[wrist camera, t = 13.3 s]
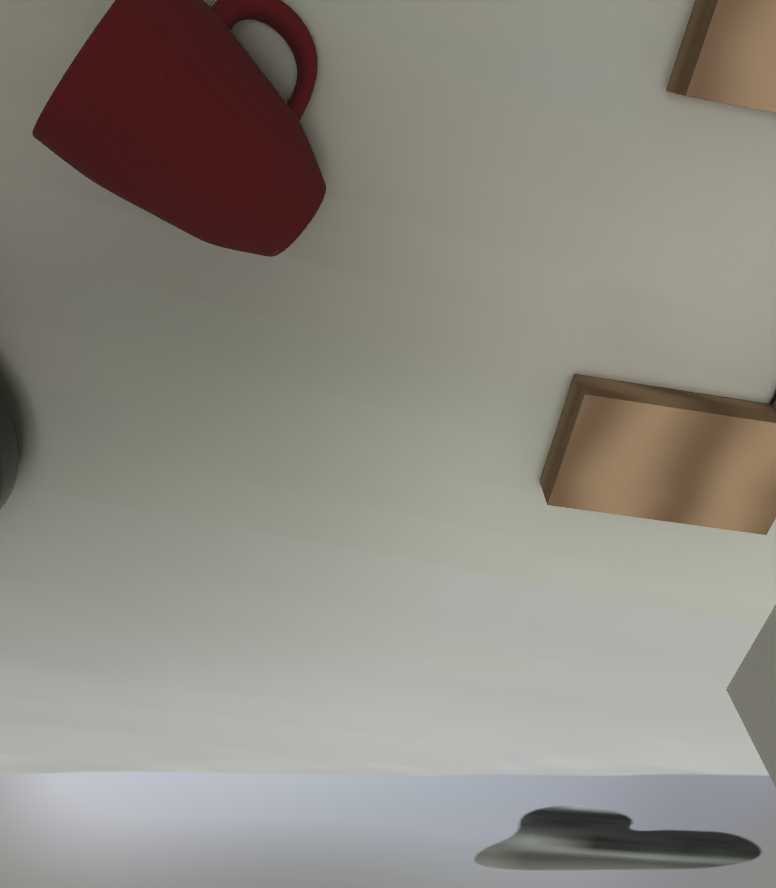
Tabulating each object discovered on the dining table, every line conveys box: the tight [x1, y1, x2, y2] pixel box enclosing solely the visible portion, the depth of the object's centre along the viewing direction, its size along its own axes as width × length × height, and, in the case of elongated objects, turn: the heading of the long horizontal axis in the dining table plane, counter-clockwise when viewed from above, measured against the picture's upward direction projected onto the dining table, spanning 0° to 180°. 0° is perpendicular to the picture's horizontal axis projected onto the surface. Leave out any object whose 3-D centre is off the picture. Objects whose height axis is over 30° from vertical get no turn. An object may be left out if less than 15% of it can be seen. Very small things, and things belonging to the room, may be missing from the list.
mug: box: [33, 0, 326, 257], centre depth 30 cm, size 11×8×10 cm
